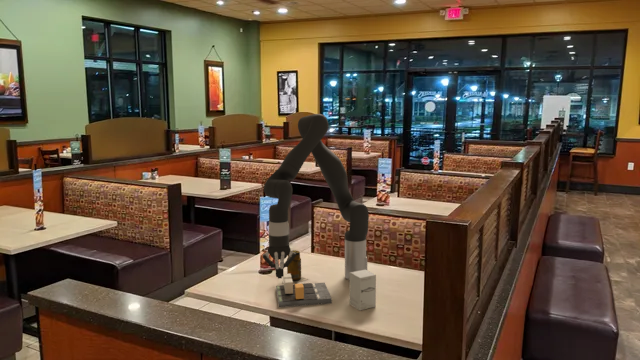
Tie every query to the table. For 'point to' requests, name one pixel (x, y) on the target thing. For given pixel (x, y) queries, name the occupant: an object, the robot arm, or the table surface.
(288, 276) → the block
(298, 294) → the block
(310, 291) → the panel
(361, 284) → the supplement box
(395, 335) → the table surface
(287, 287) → the block
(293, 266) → the condiment
